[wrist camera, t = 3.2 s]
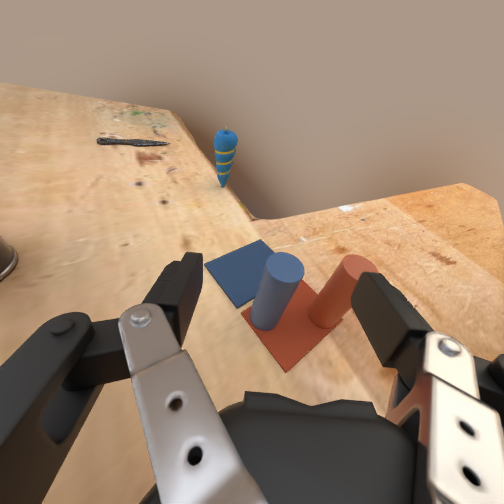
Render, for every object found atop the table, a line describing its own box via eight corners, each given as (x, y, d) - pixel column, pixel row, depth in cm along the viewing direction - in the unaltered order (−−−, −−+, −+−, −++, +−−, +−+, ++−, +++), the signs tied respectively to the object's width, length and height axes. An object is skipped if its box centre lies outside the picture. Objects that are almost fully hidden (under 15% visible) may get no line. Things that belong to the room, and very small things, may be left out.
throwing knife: (98, 138, 63) (97, 136, 63) (170, 141, 70) (170, 139, 70) (96, 145, 61) (95, 142, 60) (171, 147, 67) (171, 145, 67)
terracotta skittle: (302, 311, 34) (335, 262, 26) (319, 298, 37) (355, 249, 28) (323, 334, 32) (367, 289, 24) (340, 319, 35) (385, 273, 26)
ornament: (233, 184, 58) (240, 122, 48) (231, 194, 55) (237, 130, 44) (214, 180, 58) (217, 117, 47) (210, 190, 55) (212, 124, 44)
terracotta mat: (240, 313, 33) (241, 312, 33) (298, 277, 40) (298, 276, 39) (285, 373, 28) (286, 372, 28) (342, 320, 35) (343, 319, 35)
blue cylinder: (243, 312, 33) (258, 260, 24) (265, 299, 35) (285, 247, 26) (262, 336, 31) (285, 289, 22) (284, 320, 33) (312, 271, 24)
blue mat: (204, 265, 38) (204, 263, 38) (260, 240, 45) (260, 239, 44) (236, 308, 33) (237, 307, 33) (294, 273, 40) (294, 272, 40)
